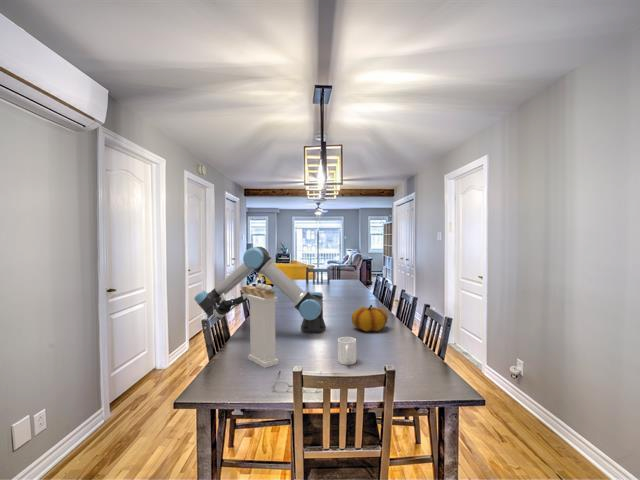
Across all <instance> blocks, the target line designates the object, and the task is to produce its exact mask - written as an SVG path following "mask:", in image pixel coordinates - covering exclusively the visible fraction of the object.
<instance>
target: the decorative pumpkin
mask: <svg viewBox="0 0 640 480" xmlns="http://www.w3.org/2000/svg"><path fill="white" fill-rule="evenodd" d="M351 323H352V324H353V326H354V327H355V328H356V329H358V330H360V331H364V332H367V333H368V332H380V330H382V329H383V328H384V327H385V326H386V324H387V323H388V314H387V312H386V311H385V309H383V308H380V307H378V308H377V307H375V306H373V305H372V304H370V305H369V307H365V306H361V307H359V308H358V309H356V310H355V311H353V313H352V314H351Z"/></svg>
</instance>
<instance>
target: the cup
mask: <svg viewBox="0 0 640 480" xmlns="http://www.w3.org/2000/svg"><path fill="white" fill-rule="evenodd" d="M337 362H338V363H339V364H340V365H345V366H350V365H353V364H356V362H357V339H356V338H355V337H351V336H342V337H338V338H337Z"/></svg>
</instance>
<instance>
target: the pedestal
mask: <svg viewBox="0 0 640 480" xmlns="http://www.w3.org/2000/svg"><path fill="white" fill-rule="evenodd" d="M247 299H248V300H247V301H249V327H250V328H249V330H250V331H249V335H250V338H249V339H250V342H249V343H250V353H249V354H248V356H247V357H248V360H250V361H251V362H253V363H255V364H257V365H259V366H260V367H262V368H264V369H266V368H269V367H273V366H276V365H279V359H278V358H277V357H276V355H277V354H276V346H277V345H276V303H278V296H274V298H270V299H265V298H261V297H257V296H253V295H247Z"/></svg>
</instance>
